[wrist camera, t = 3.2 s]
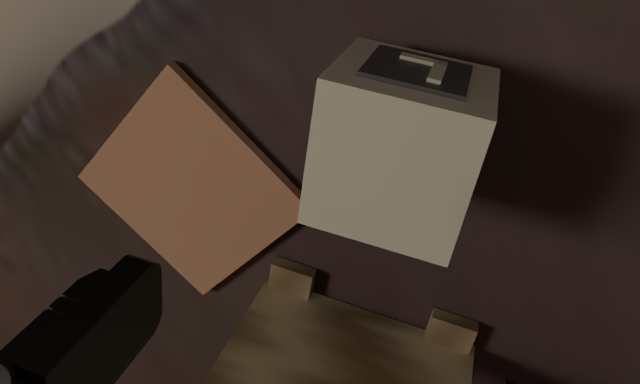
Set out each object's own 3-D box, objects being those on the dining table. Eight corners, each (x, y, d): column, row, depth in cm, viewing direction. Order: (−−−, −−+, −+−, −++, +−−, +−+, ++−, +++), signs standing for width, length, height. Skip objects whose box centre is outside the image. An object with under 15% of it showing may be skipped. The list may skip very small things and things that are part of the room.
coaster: (207, 288, 33) (202, 295, 33) (84, 172, 32) (78, 176, 31) (315, 206, 28) (311, 212, 27) (174, 60, 26) (167, 64, 26)
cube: (460, 192, 25) (447, 267, 20) (338, 158, 26) (296, 222, 21) (502, 60, 22) (500, 112, 17) (360, 29, 23) (318, 68, 18)
